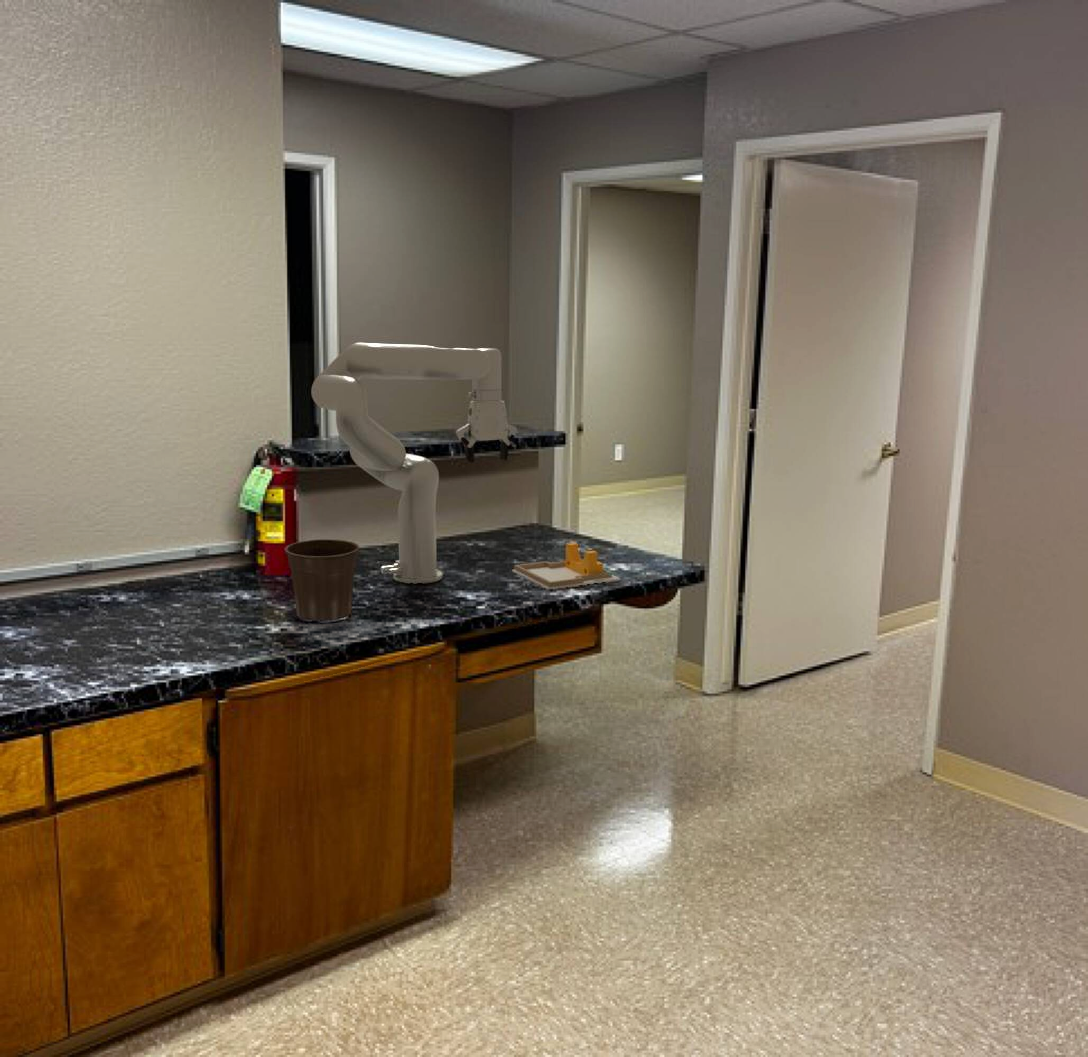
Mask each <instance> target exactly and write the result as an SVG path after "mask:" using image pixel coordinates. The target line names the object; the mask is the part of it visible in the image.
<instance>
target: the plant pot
mask: <svg viewBox="0 0 1088 1057" xmlns="http://www.w3.org/2000/svg"><path fill="white" fill-rule="evenodd" d="M359 550H360V546H359V544H357V543H355V542H354V541H349V540H344V539H343V540H342V539H328V538H327V539H326V538H325V539H323V538H322V539H310V540H304V541H298V542H294V543H293V542H292V543H291V544H289V545H286V547H284V552H285V553H286V554H287V559H288V566H289V568H290V572H291V579H292V587H293V595H294V603H295V611H296V613H295V614H296V617H297V616H298V617H299V618H302V619H305V620H316V621H320V620H321V621H327V620H336V619H340V618H344V617H347V616H349V615H350V614H351V615H352V610H353V609H352V607H353V593H354V592H353V591H354V577H355V566H356V565H357V556H358V551H359ZM349 617H350V616H349ZM316 621H315V622H316Z"/></svg>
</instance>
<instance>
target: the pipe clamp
mask: <svg viewBox="0 0 1088 1057" xmlns="http://www.w3.org/2000/svg"><path fill="white" fill-rule="evenodd" d="M582 559H583V560H582ZM565 561H566V568H568V569H571V570H573V571H575V572H577V573H579V574H581V575H587V574H595V573H603V568H604V563H603V562H600V561H598V551H596V550H587V551H586V550H585V551H584V556H583V558H582V557H581V554H580V551H579V544H578V543H577V542H569V543H568V542H567V543H565Z"/></svg>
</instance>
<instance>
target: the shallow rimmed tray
mask: <svg viewBox="0 0 1088 1057" xmlns="http://www.w3.org/2000/svg"><path fill="white" fill-rule="evenodd" d="M583 559H584V558H582V560H583ZM513 568H514V569H512V570H511V572H512V573H514V574H516V575H518V576H520V577H521V578H523V579H525V580H527V581H529V582H531V583H532V584H535V585H537V586H539V585H540V586H539V587H541V588H543V589H544V588H545V590H546V589H547V591H550V590H549V589H553V590H559V589H558V588H561V589H567V588H566V587H568V588H574V587H580V586H579V585H583V586H588V585H587V584H590V585H595V584H594V583H598V584H603V583H602V582H605V583H611V582H618V581H621V578H620V577H618V576H617V575H614V574H613V572H612V571H610V570H608V569H606V568H604V567H603V573H595V574H587V575H581V574H579V573H577V572H575V571H573V570H571V569H568V568H566V560H564V561H557V562H556V561H555V562H549V561H547V560H545V561H538V562H530V563H522V564H521V563H520V564H514V565H513Z"/></svg>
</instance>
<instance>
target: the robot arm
mask: <svg viewBox="0 0 1088 1057" xmlns="http://www.w3.org/2000/svg"><path fill="white" fill-rule="evenodd" d="M362 378H363V379H372V380H413V381H414V380H415V381H416V380H419V381H420V380H421V381H422V380H423V381H431V380H432V381H433V380H461V381H463V380H468V381H469V380H470V381H472V389H471V391H469V392H467V397H468V398H471V401H470V402H469V407H468V412H467V413H468V414H467V415H468V416H467V424H465V425H464V426H462V427H460V428H459V429H457V430H456V431H455V434H456V436H457V437H458V440H459V442H460V443H461V444H462V445H463V446H464V447H465V459H466V462H468V463H470V464H474V463H475V448H474V447H473V446H474V445H475V443H476V442H477V441H494V440H495V441H496V440H499V441H500V442H501V444H500V445H499V458H500V460H503V461H508V457H509V446H510V445H511V443H512V441H513V440H514V439H515V436H516V435H517V432H518V428H517V427H516V426H515V425H512V424H510V423H509V422H508V414H507V408H506V403H505V401H504V400H502V352H501V351H500V350H499V349H498V348H494V347H493V348H492V347H491V348H490V347H479V348H466V347H463V348H462V347H455V348H454V347H453V348H445V347H436V346H431V345H426V344H425V345H424V344H423V345H422V344H401V343H400V344H398V343H397V344H396V343H374V342H373V343H372V342H371V343H369V342H355V343H352V344H351V345H349V346H347V347H346V348H345V349H344V350H343V351H341V353H340V354H339V355H337V356H336V358H334V360H332V362H331V363H330V364H328V366H327V367H326V368H325V369H324V370H322V372H320V374H318V376H317V377H316V378H315V380H314V381H313V383H312V386H311V397H312V400H313V402H314V403H315V404H316V405H317V406H318V407H320V408H322V409H323V410H328V411H335V423H336V424H335V425H336V428H337V433H338V435H339V438H340V439H341V440H342V441H343V442H344V443H345V444H346V445H347V446H348V447H349V454H350V457H351V459H352V461H353V462H354V463H355V464H356V465H357V466H358V467H359V468H361V469H362V470H363V471H365V472H367V473H368V475H370V476H372V477H373V478H375V479H376V480H378V481H379V482H380V483H382V484H383V485H385V486H387V487H388V488H391V489H394V490H397V491H402V493H401V497H400V498H399V503H398V506H397V507H398V508H397V520H398V521H397V524H398V525H397V526H398V530H397V532H398V560H397V559H396V560H395V563H393V564H392V565H382V566H380V572H381V574H382V575H383V574H389V575H393V576H392V577H393V579H394V581H396V582H398V581H399V582H398V583H402V582H403V583H404V584H410V583H413V584H416V585H417V583H422V584H430V583H435V582H438V581H440V580H442V579H443V577H444V576H443V574H444V573H443V571H441V570H439V569H438V568H437V517H436V515H437V514H436V512H437V511H436V509H437V508H436V506H437V505H436V504H437V493H438V487H439V483H440V475H439V474H440V473H439V469H438V467H437V466H436V464H435V463H434V462H433V461H432V460H431V459H429V458H427V457H425V456H421V455H416V454H412V453H411V454H410V453H407V451H406V448H405V446H404V444H403V443H402V442H401V440H399V438H397V437H396V436H395V435H393V434H392V433H390V431H387V430H386V429H384V428H383V427H382V426H381V425H380V424H378V423H377V422H376V421H374V419H372V418H371V417H370V415H369V413H368V396H367V395H368V394H367V391H366V388H365V386H364V385H363V383H362V382H361V381H360V380H361V379H362ZM465 433H466V434H467V438H465V435H464V434H465Z"/></svg>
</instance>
